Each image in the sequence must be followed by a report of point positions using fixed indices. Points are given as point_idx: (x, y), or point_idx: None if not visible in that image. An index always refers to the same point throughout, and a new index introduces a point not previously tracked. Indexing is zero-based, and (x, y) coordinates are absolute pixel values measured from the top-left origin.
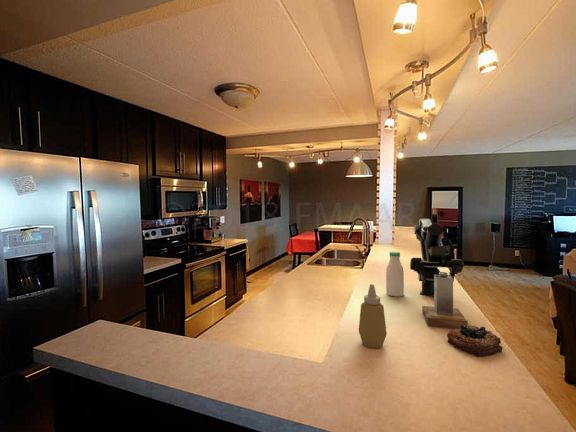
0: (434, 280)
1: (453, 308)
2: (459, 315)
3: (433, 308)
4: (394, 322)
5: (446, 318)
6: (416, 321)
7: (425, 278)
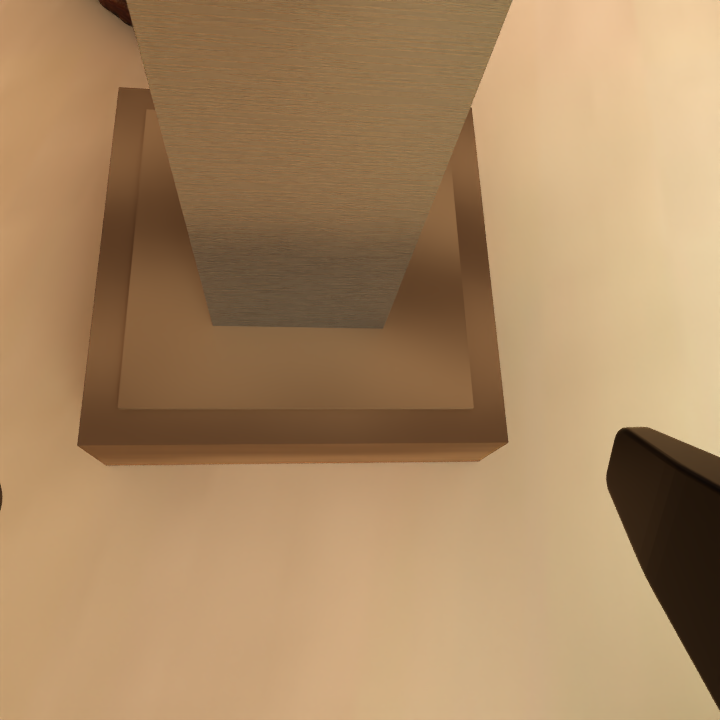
0: (493, 17)
1: (135, 439)
2: (149, 197)
3: (390, 350)
4: (699, 177)
5: None
6: (534, 236)
7: (679, 460)
